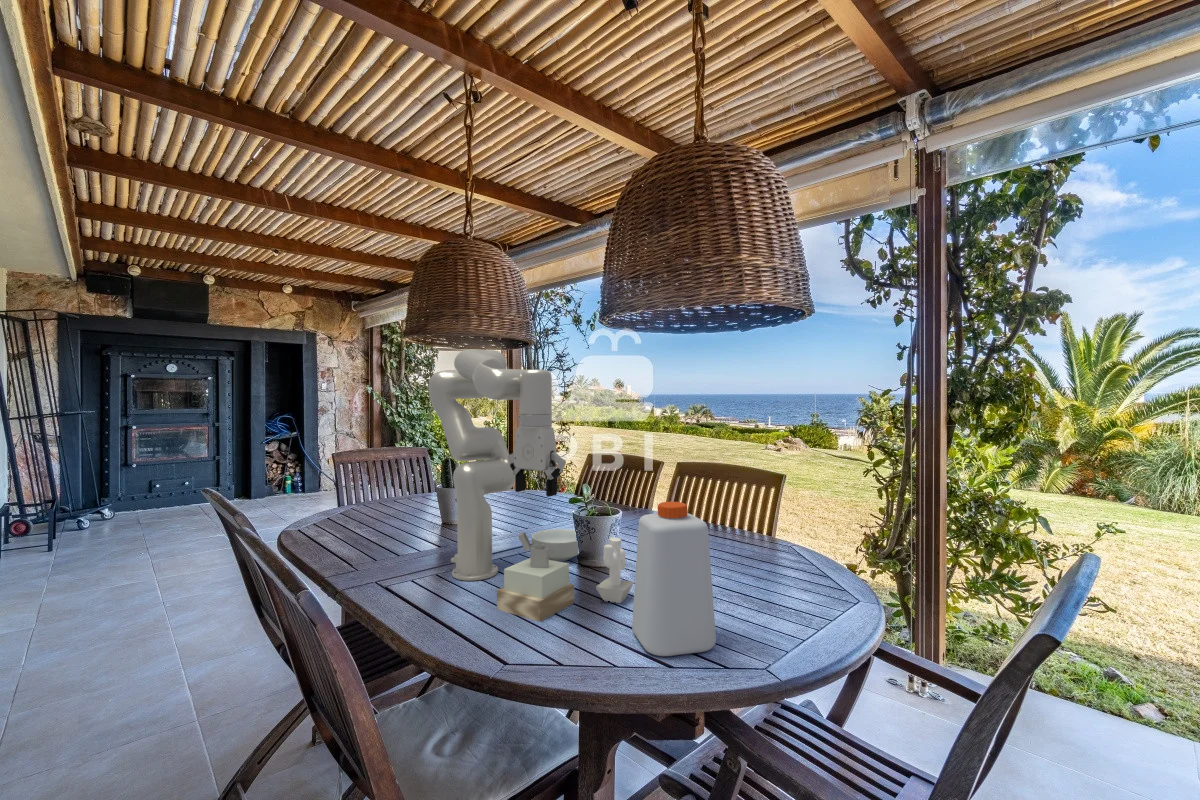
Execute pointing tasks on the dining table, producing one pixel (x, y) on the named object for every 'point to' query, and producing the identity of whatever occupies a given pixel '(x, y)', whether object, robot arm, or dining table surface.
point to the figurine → (614, 573)
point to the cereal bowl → (557, 543)
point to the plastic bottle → (673, 583)
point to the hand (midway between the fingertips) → (535, 493)
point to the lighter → (535, 552)
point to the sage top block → (536, 578)
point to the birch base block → (535, 603)
